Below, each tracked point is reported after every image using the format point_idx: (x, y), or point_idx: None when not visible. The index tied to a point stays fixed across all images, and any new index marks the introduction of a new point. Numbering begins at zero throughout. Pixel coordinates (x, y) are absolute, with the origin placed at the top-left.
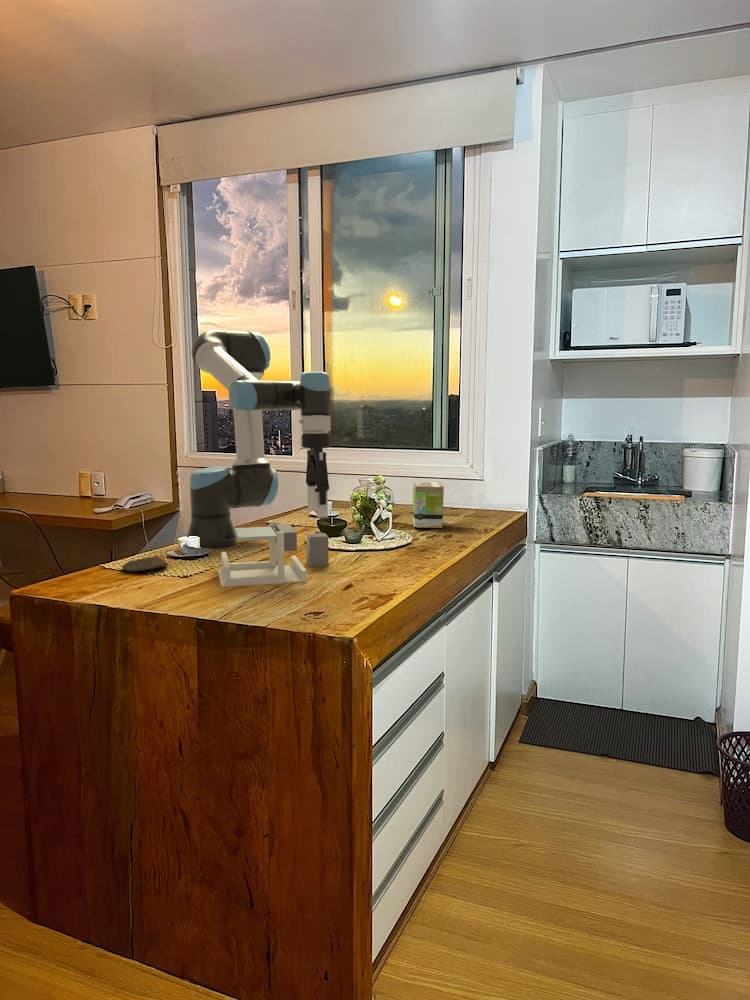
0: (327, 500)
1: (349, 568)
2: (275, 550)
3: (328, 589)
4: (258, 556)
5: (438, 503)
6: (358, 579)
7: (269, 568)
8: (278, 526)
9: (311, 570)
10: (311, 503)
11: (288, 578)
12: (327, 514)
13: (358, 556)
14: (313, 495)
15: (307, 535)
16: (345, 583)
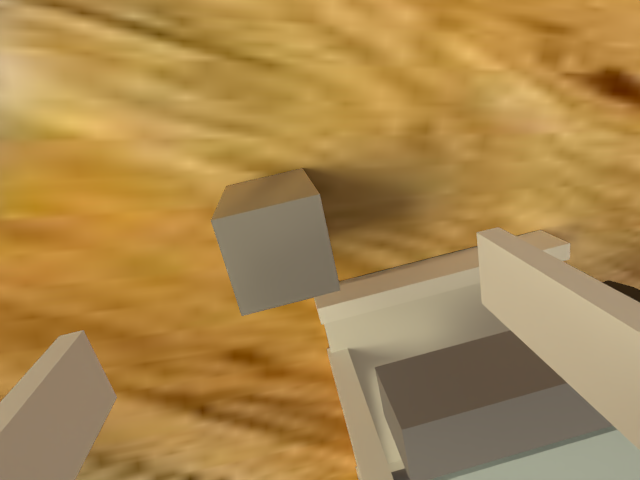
0: (603, 283)
1: (348, 76)
2: (361, 389)
3: (630, 156)
4: (135, 432)
5: None
6: (532, 43)
7: (365, 364)
8: (487, 457)
9: (369, 229)
10: (80, 419)
11: None
12: (511, 235)
13: (84, 19)
14: (25, 472)
15: (281, 304)
16: (575, 97)
